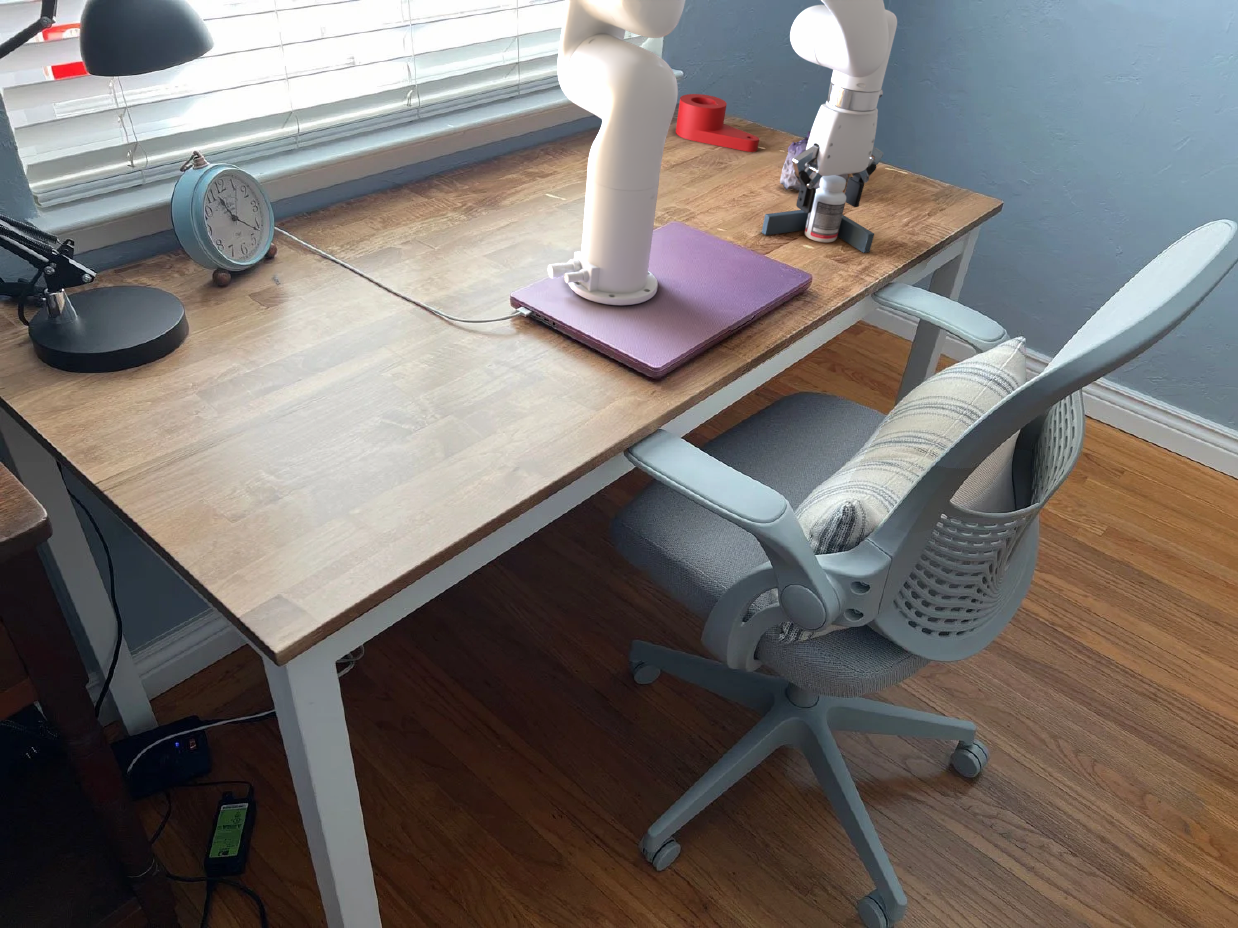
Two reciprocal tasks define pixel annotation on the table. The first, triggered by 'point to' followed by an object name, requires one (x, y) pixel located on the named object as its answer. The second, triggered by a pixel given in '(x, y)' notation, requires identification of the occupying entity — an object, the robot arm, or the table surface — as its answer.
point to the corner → (797, 222)
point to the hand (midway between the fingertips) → (827, 207)
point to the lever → (710, 123)
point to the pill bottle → (826, 210)
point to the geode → (788, 170)
